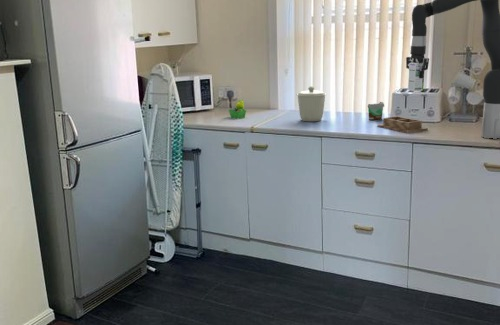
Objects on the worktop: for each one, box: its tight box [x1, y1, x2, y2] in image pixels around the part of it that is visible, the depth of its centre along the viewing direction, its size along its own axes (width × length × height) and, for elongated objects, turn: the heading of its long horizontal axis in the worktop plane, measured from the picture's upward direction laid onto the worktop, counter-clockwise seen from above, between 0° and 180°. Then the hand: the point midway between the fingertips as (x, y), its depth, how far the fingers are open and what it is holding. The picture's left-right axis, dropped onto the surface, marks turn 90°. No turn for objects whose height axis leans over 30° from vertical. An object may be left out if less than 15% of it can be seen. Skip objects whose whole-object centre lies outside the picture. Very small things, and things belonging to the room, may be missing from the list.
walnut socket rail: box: [377, 115, 429, 134], centre depth 281 cm, size 24×14×5 cm, turn 27°
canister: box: [296, 86, 327, 122], centre depth 312 cm, size 18×18×21 cm
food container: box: [367, 101, 385, 121], centre depth 308 cm, size 12×6×10 cm, turn 129°
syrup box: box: [407, 63, 425, 92], centre depth 266 cm, size 6×6×14 cm
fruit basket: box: [228, 99, 247, 120], centre depth 335 cm, size 11×9×11 cm
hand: (416, 77), depth 266 cm, fingers closed on syrup box, 6 cm apart
